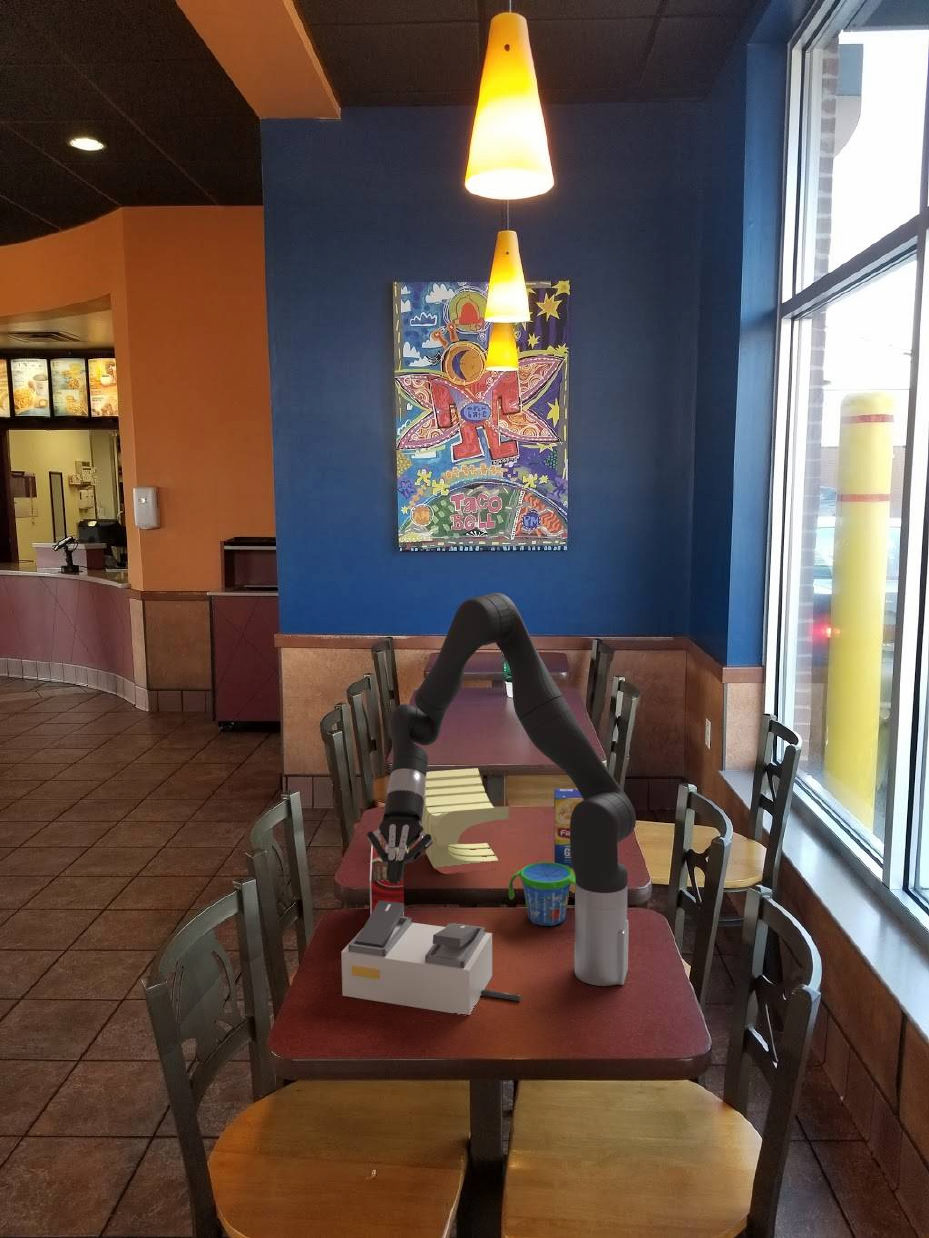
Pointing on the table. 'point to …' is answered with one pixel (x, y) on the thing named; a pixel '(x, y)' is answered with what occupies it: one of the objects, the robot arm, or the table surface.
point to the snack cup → (545, 891)
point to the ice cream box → (383, 881)
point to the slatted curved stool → (457, 816)
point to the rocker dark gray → (381, 924)
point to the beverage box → (564, 826)
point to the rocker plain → (455, 935)
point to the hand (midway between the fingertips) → (393, 882)
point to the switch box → (421, 970)
